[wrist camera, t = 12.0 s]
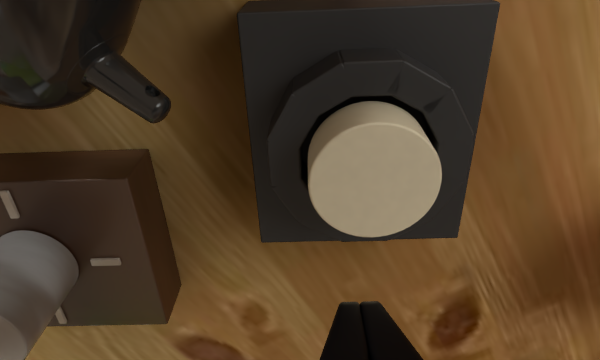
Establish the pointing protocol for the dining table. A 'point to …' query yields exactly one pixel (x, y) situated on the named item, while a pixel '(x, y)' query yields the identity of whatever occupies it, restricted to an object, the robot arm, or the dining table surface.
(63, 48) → the black glossy ovoid
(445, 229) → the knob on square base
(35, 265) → the dial
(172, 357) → the dining table surface
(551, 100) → the dining table surface
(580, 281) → the dining table surface
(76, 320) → the panel
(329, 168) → the round beige button
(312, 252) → the dining table surface
